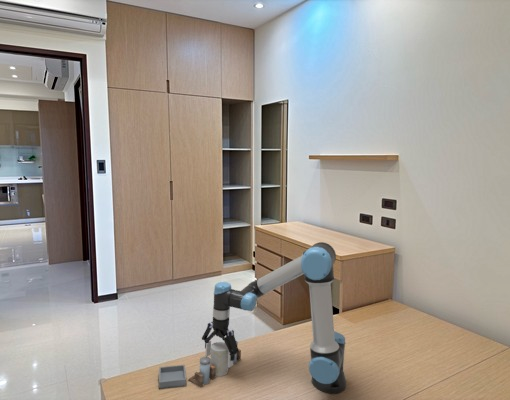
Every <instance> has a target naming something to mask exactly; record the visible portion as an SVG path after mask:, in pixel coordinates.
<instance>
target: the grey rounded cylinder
mask: <svg viewBox="0 0 510 400" xmlns="http://www.w3.org/2000/svg"><path fill="white" fill-rule="evenodd" d="M210 358H211V357H209V356H207V357H206V356H202V357H200V358H199V372H200V374H202V375H203V385H208V384H209V383H210V378H209V377H210Z"/></svg>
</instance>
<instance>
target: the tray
mask: <svg viewBox="0 0 510 400" xmlns="http://www.w3.org/2000/svg"><path fill="white" fill-rule="evenodd" d="M186 386H187V374H186V365H185V364H179V365H170V366H166V365H165V366H159V368H158V390H162V389H164V390H165V389H173V388H180V387H186Z"/></svg>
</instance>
